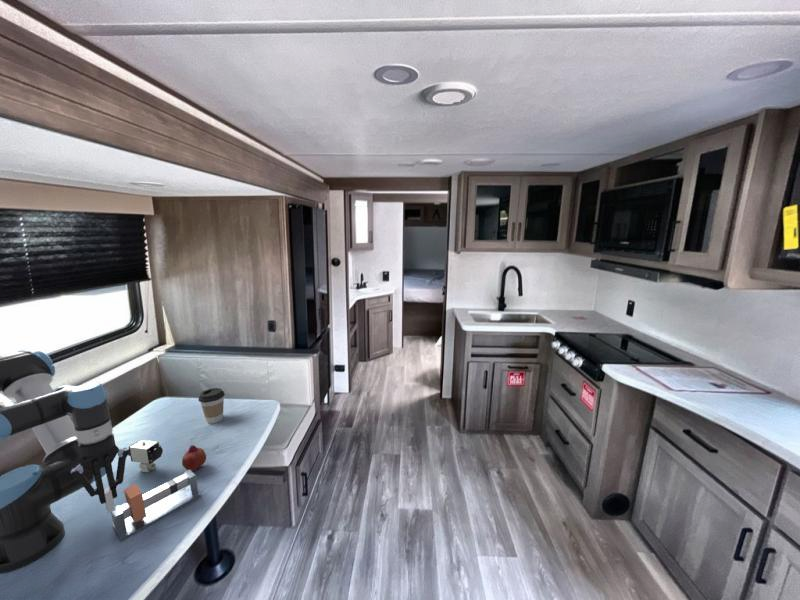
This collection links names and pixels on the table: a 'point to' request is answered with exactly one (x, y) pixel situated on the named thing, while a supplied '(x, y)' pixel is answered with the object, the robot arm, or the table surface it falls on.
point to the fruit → (193, 458)
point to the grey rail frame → (156, 505)
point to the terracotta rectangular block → (135, 502)
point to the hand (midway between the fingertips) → (110, 509)
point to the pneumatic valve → (145, 454)
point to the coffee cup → (212, 404)
